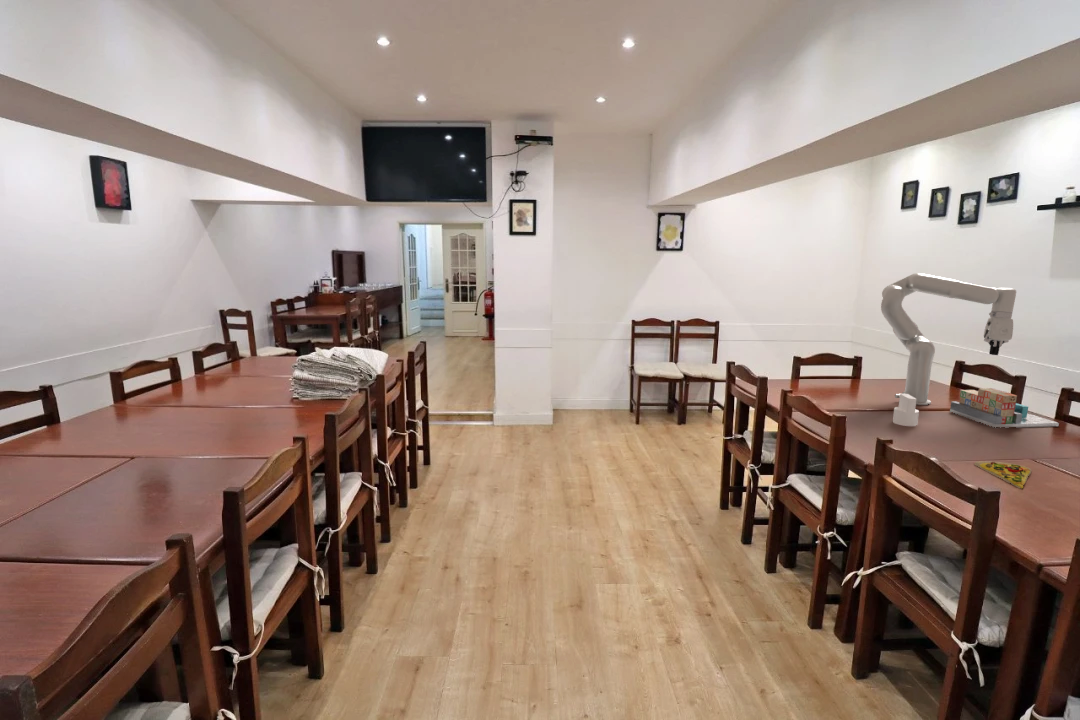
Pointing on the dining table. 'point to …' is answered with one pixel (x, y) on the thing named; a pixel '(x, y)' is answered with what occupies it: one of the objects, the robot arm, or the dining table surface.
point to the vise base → (1023, 422)
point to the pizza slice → (1006, 471)
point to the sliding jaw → (1019, 413)
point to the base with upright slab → (906, 411)
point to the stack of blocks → (991, 402)
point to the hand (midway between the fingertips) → (993, 354)
